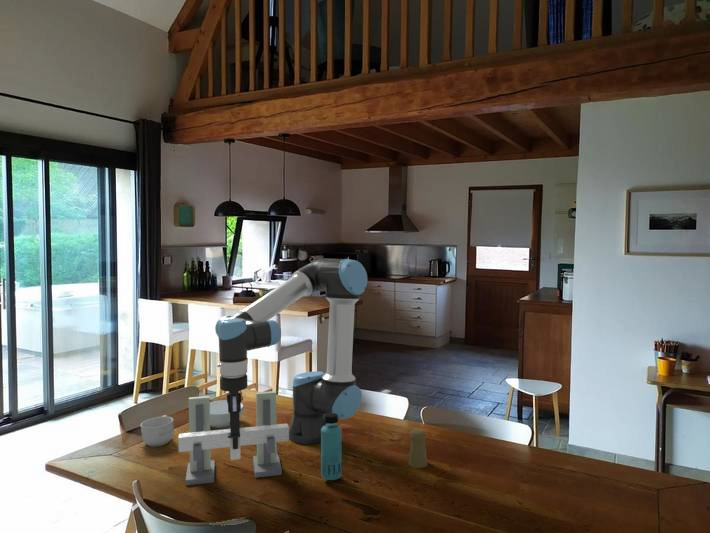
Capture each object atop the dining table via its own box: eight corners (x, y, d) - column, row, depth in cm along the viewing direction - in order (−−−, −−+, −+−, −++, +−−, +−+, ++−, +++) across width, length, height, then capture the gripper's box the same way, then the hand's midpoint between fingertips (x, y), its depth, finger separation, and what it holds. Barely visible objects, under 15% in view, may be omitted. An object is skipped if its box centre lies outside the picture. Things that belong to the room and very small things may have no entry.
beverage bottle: (326, 487, 151) (325, 419, 150) (316, 477, 157) (316, 412, 156) (346, 482, 154) (346, 416, 153) (336, 473, 160) (336, 409, 159)
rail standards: (277, 458, 171) (277, 386, 169) (285, 492, 149) (285, 409, 147) (188, 467, 164) (186, 392, 162) (182, 504, 142) (180, 417, 140)
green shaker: (429, 461, 168) (430, 428, 167) (424, 469, 163) (424, 435, 162) (412, 458, 171) (412, 425, 170) (405, 465, 165) (406, 432, 165)
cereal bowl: (237, 432, 193) (237, 414, 192) (193, 432, 193) (192, 413, 192) (247, 416, 210) (247, 399, 209) (206, 416, 210) (206, 399, 209)
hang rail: (287, 436, 152) (287, 423, 152) (288, 440, 149) (288, 427, 149) (179, 447, 145) (179, 433, 145) (178, 452, 142) (178, 437, 142)
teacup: (163, 451, 177) (162, 427, 176) (134, 448, 179) (133, 425, 178) (184, 435, 190) (183, 413, 190) (157, 433, 192) (157, 411, 192)
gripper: (219, 368, 153) (221, 446, 154) (219, 383, 137) (221, 470, 139) (246, 366, 155) (247, 443, 156) (248, 381, 139) (250, 467, 141)
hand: (235, 456), depth 148 cm, fingers closed on hang rail, 3 cm apart
